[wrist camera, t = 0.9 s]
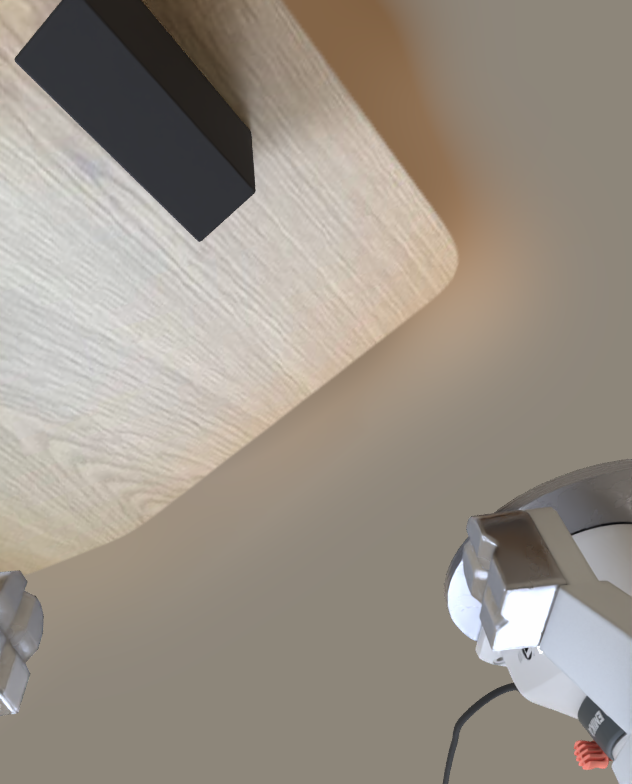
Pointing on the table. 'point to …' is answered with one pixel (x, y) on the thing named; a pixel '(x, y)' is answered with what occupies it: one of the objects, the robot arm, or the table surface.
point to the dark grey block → (145, 107)
